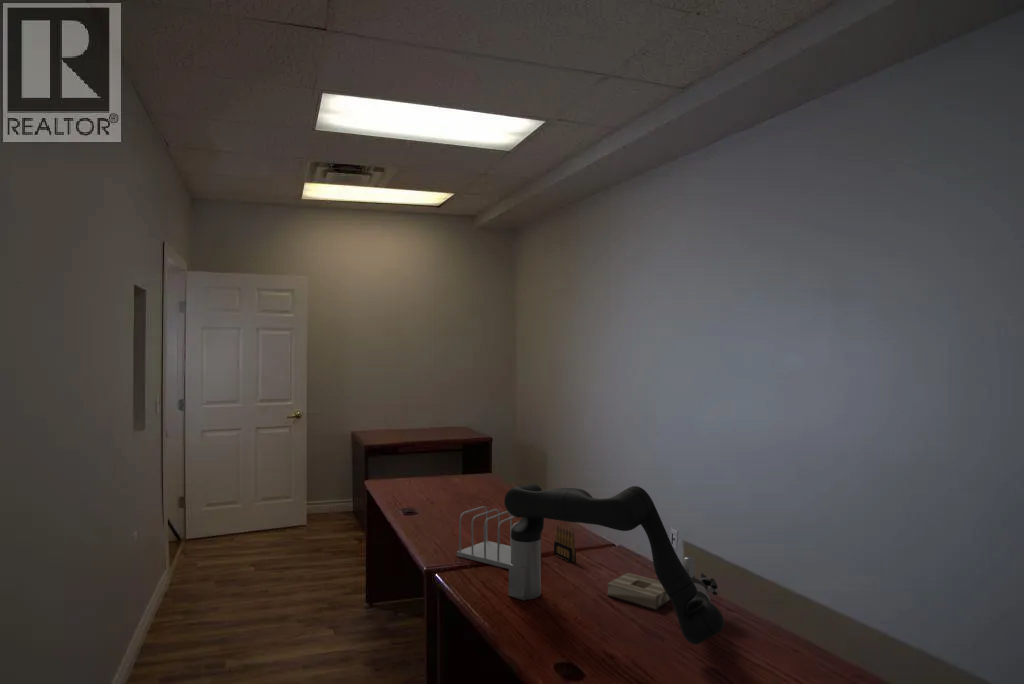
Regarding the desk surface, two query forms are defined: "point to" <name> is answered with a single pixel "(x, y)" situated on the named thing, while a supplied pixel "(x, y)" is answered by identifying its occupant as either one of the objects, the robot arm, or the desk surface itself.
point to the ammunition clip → (565, 543)
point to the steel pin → (690, 565)
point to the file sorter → (488, 543)
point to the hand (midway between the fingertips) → (688, 575)
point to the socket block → (638, 591)
